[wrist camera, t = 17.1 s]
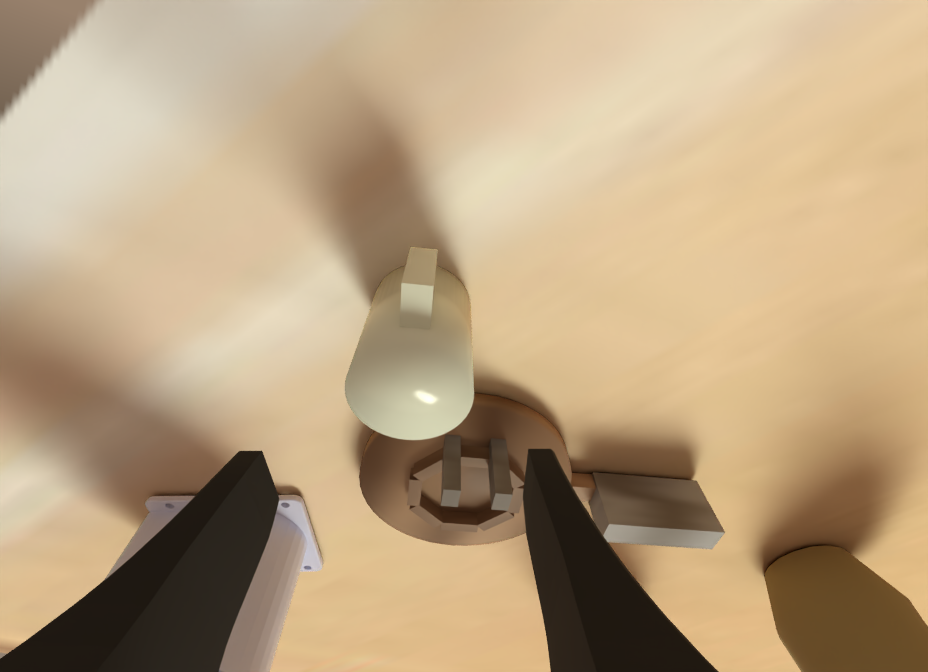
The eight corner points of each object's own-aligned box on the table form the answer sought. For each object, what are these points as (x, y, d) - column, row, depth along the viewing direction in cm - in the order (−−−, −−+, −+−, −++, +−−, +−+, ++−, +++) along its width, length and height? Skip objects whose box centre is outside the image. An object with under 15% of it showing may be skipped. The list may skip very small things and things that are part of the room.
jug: (465, 351, 21) (466, 444, 16) (374, 343, 21) (347, 435, 16) (481, 233, 18) (488, 303, 13) (374, 222, 18) (340, 289, 13)
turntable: (361, 524, 29) (347, 594, 25) (363, 382, 22) (344, 449, 18) (655, 544, 30) (682, 613, 27) (736, 418, 24) (787, 486, 20)
